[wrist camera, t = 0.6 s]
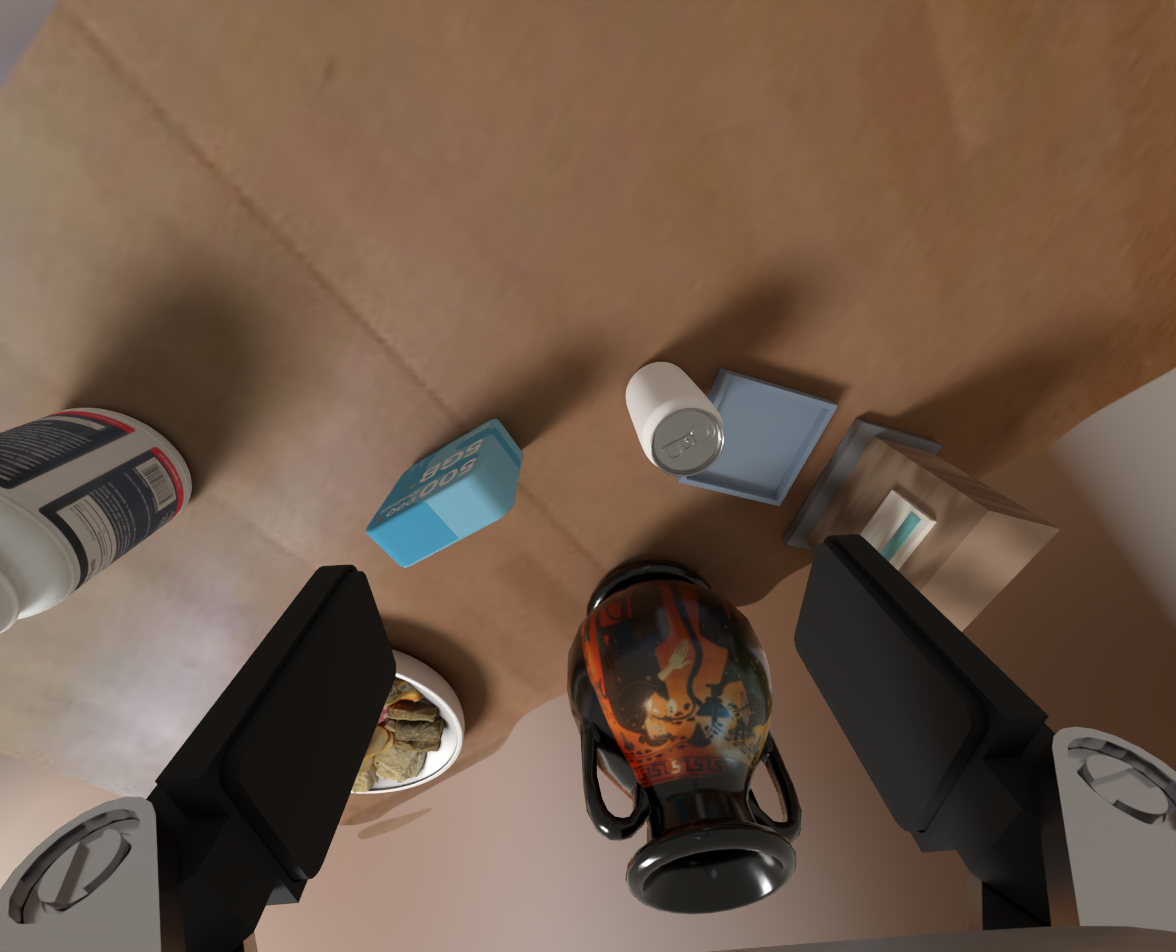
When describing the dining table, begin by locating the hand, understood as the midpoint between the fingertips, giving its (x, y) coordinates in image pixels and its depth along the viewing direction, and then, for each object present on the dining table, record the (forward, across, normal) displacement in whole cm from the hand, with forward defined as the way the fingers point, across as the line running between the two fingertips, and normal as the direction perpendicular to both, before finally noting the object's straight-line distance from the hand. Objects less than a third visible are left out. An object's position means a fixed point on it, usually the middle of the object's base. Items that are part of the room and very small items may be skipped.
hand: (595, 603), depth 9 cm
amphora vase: (+36, -8, +35) cm, 51 cm away
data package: (+35, +12, +12) cm, 39 cm away
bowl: (+36, +33, +51) cm, 71 cm away
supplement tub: (+35, +45, +11) cm, 58 cm away
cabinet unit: (+35, -31, +19) cm, 51 cm away
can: (+35, -8, +6) cm, 36 cm away
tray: (+35, -18, +12) cm, 41 cm away
